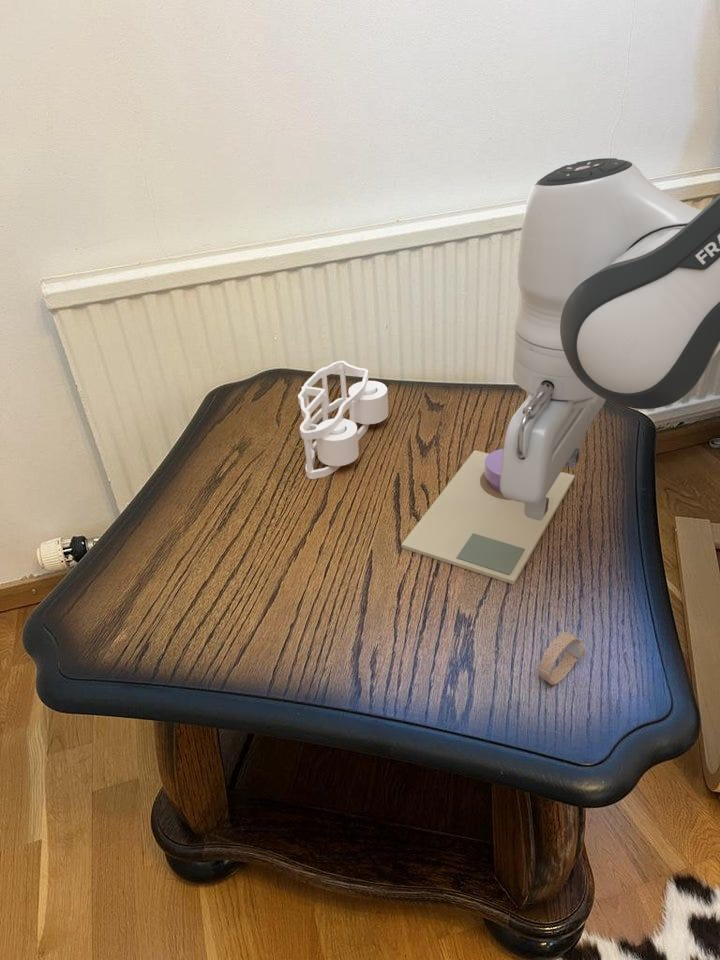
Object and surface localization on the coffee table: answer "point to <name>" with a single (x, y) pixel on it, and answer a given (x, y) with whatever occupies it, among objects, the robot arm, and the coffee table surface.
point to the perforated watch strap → (560, 672)
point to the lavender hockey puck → (494, 468)
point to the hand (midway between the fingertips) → (552, 487)
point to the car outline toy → (339, 417)
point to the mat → (482, 524)
